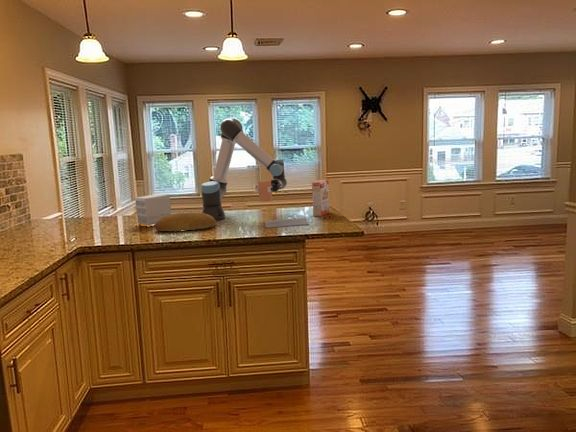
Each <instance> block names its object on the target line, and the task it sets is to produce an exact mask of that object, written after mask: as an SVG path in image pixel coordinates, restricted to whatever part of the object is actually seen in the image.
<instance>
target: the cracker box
mask: <svg viewBox="0 0 576 432" xmlns="http://www.w3.org/2000/svg"><path fill="white" fill-rule="evenodd" d="M329 185H330V184H329V179H320V180H316V181H312V182H311V191H312V213H313V214H312V216H313V217H323V216H325V215H327V214H330V212H331V211H330V190H329V187H330V186H329Z"/></svg>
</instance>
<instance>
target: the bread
mask: <svg viewBox="0 0 576 432" xmlns="http://www.w3.org/2000/svg"><path fill="white" fill-rule="evenodd" d="M216 223H217V221H216V220H215V219H214V218H213V217H212V216H210V215H208V214H205V213H202V212H199V211H197V212H196V211H192V212H191V211H190V212H174V213H172V214H170V215H167V216H164V217H162V218H160V219H159V220H158V221H157V223H156V224H155V226H154V228H155V230H156V231H157V230H158V231H157V232H160V231H179V232H182V231H181V230H193V231H197V230H205V229H209V228H213V227H215V226H216ZM196 229H197V230H196Z"/></svg>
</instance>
